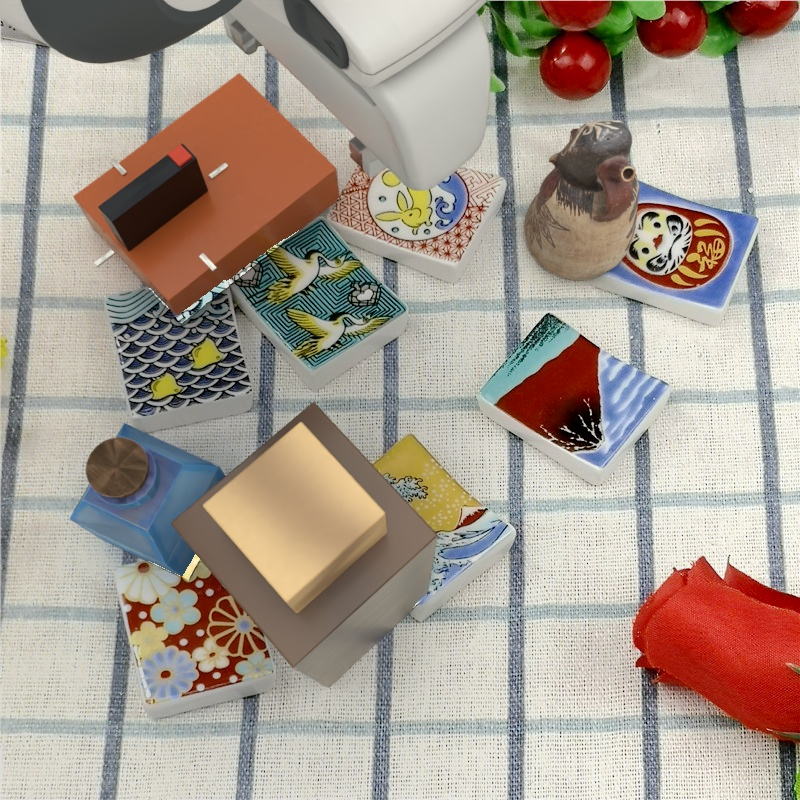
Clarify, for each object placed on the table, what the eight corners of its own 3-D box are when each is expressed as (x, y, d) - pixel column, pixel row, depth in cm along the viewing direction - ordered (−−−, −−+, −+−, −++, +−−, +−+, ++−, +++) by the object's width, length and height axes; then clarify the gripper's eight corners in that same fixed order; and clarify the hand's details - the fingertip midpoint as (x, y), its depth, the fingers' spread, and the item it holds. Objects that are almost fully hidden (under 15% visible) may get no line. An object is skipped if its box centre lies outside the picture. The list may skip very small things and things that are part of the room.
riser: (328, 688, 59) (292, 668, 40) (242, 587, 61) (169, 522, 42) (428, 596, 61) (438, 535, 42) (340, 500, 63) (313, 400, 44)
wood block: (297, 614, 41) (286, 602, 37) (219, 525, 42) (201, 504, 38) (388, 532, 42) (386, 513, 38) (309, 447, 43) (300, 420, 39)
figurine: (609, 179, 70) (649, 71, 59) (643, 269, 68) (691, 175, 56) (511, 203, 69) (531, 99, 58) (542, 294, 67) (570, 205, 56)
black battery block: (129, 252, 64) (110, 220, 60) (115, 237, 64) (96, 204, 60) (208, 191, 65) (195, 155, 61) (195, 177, 66) (181, 140, 62)
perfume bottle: (236, 491, 63) (199, 438, 52) (188, 581, 61) (139, 547, 50) (149, 451, 64) (94, 390, 53) (100, 539, 62) (32, 496, 51)
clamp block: (162, 346, 66) (147, 322, 62) (65, 238, 69) (45, 208, 65) (343, 202, 70) (340, 170, 66) (244, 104, 72) (235, 67, 68)
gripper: (42, -242, 39) (133, 5, 52) (397, 96, 34) (398, 274, 47) (172, -322, 40) (229, -61, 53) (532, -7, 35) (496, 194, 48)
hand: (311, 98), depth 50 cm, fingers open, 8 cm apart
